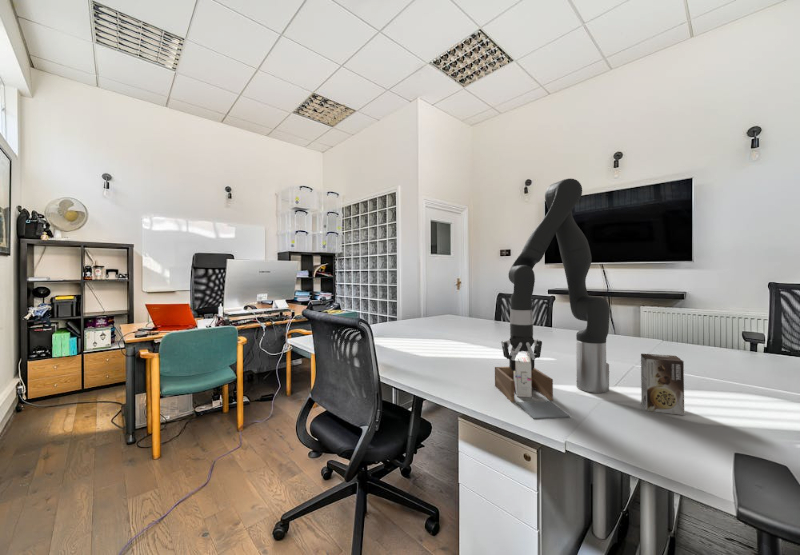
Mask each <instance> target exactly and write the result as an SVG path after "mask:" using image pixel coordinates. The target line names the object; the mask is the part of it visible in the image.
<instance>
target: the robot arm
mask: <svg viewBox="0 0 800 555" xmlns="http://www.w3.org/2000/svg"><path fill="white" fill-rule="evenodd" d="M582 195H583V186H582V184H581V182H580V181H578V179H576V178H565V179H562V180H560V181H556V182H554V183H552V184H550V185H549V186H548V187H547V188H546V189H545V192H544V200H545V204H546V207H547V209H548V211H547V213H546V215H545V216H544V218H543V219H542V220H541V221H540V223H538V224H537V226H536V227H535V228H534V230H533V231H532V232H531V234H530V235H529V236H528V238H527V241H526V243H525V245H524V246H523V248H522V251H521V252H520V254H519V255H518V256H517V258H516V259H515V260H514V262H513V263H512V265H511V267H510V269H509V271H508V280H509V282H511V283H512V285H513V292H512V293H511V295H510V314H509V327H510V328H509V330H510V331H509V333H510V334H509V335H510V338H509V340H502V341H501V348H502V352H503V353H502V354H503V357H504V358H506V359H507V360H509V361H508V362H509V366H508V367H510V369H511V370H512V371H515V358H516V357H517V356H518V354H519V353H520V352H525V354H526V353H527V351H528V352H529V354H530V358H531V370H533V369H534V368H535V360H536V359H537V358H538V359H539V358H541V353H542V347H543V346H542V345H543V341H541V340H539V339H534V315H533V294H534V290H535V289H534V288H535V282H536V281H535V280H536V276H535V272H534V271H535V270H534V269H533V268H535V266H536V265H537V264H538V263H540V261H542V259H543V257H544V256H545V253H546V251H547V250H548V248H549V246H550V244H551V242H552V241H553V238H554V237H555V236H556V239H557V244H558V249H559V253H560V258H561V262H562V265H563V268H564V275H565V279H566V284H567V290H568V299H569V305H570V306H569V307H570V310H571V313H572V315H573V317H574V318H575V319H576V320H579V321H583V322H586V328H585V329H583V330H579V331H576V335H575V336H576V337H575V338H576V340H575V341H576V347H575V348H576V351H575V352H576V382H575V383H576V388H578V389H580V390H582V391H584V392H588V393H595V394H601V393H606V392H609V391H610V364H609V363H607V337H608V336H609V329H610V316H611V314H610V313H611V312H610V311H611V310H610V305H609V303H608V300H606V299H605V297H601V296H591V295H589V293H588V289H587V285H586V280H587V276H588V273H589V270H590V267H591V264H592V259H593V258H592V253H591V248H590V245H589V241H588V239H587V237H586V235H585V234H584V233H583V231H582V229H580V227H579V226H578V224H577V222H576V221H575V219H574V216H573V212H572V210H574V208H575V207H576V205H577V204H578V203H579V201H580V199H581V197H582ZM510 345H511V349H510V350H509V348H510ZM532 346H534V349H532ZM528 356H529V355H528Z"/></svg>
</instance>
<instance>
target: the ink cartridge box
mask: <svg viewBox="0 0 800 555" xmlns="http://www.w3.org/2000/svg"><path fill="white" fill-rule="evenodd" d="M525 355H526V356H516V358H515V371H514V393H515V394H516V397H518V398H519V397H521V398H523V397H524V398H532V395H533V394H532V393H533V392H532V391H533V390H532V389H533V387H532V385H531V358H530V354H529V352H528V351H527V353H526V352H525ZM528 355H529V356H528Z"/></svg>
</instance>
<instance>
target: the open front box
mask: <svg viewBox="0 0 800 555" xmlns="http://www.w3.org/2000/svg"><path fill="white" fill-rule="evenodd" d="M553 382H554V379H553V378H551V377H550V376H548V375H546V373H543V372H542V371H540V370H539V369H537V368H536V367H534V369H533V370H531V385H532V389H534V390H535V391H537V392H538V393H539V394H541V395H542V396H543V397H545V398H546V399H547V400H548V401H551V402H552V401H554V383H553ZM494 387H496V389H498V390H499V391H500V393H502V394H503V395H504V396H505V398H507V400H509V401H510V402H511V403H515V389H514V371H512V370H511V369H510V367H509V366H494Z"/></svg>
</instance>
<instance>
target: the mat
mask: <svg viewBox="0 0 800 555" xmlns="http://www.w3.org/2000/svg"><path fill="white" fill-rule="evenodd" d="M516 404H518V406H519V407H520V408H521V409H523V411H524V412H526V413H527V414H528V415H529V416H530V417H531V418H532V419H533V420H541V419H542V420H543V419H545V420H546V419H562V418H565V419H566V418H567V419H568V418H571V415H570V414H568V412H565V411H564V409H561V407H559V406H558V405H556V404H555V403H554V402H553V401H552V400H551V401H550V400H535V401H517V402H516Z"/></svg>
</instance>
